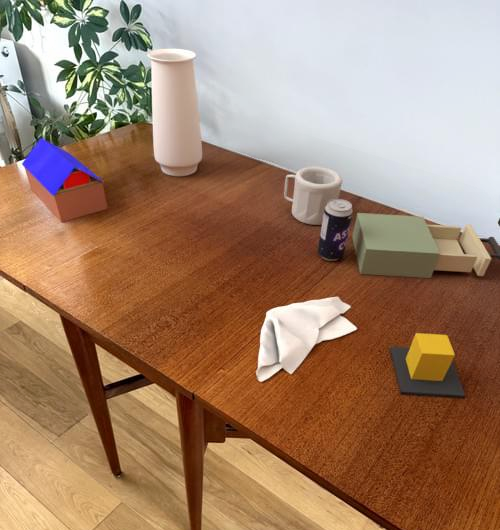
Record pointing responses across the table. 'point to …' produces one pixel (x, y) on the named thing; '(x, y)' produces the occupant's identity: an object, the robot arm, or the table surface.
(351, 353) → the table surface
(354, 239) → the cabinet
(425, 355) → the yellow block
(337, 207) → the beverage can
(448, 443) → the table surface
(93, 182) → the house
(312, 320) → the cloth
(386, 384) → the table surface
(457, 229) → the drawer
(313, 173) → the mug
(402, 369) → the mat
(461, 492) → the table surface
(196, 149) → the vase
